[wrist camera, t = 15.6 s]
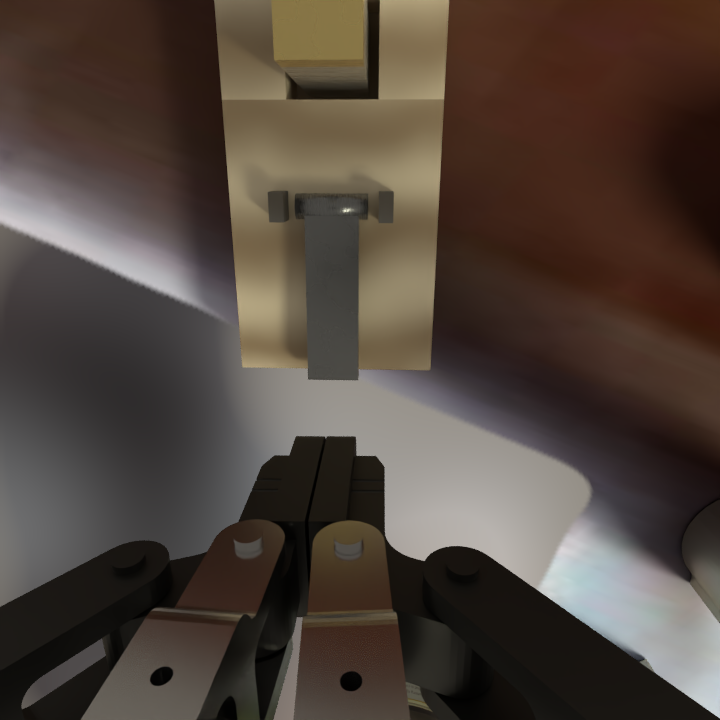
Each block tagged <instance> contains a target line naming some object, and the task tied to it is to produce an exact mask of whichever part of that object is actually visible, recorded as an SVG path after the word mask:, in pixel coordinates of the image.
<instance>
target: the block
mask: <svg viewBox="0 0 720 720" xmlns="http://www.w3.org/2000/svg"><path fill="white" fill-rule="evenodd" d="M214 2H215V16H216V29H217V42H218V55H219V68H220V81H221V94H222V107H223V120H224V133H225V146H226V159H227V173H228V186H229V199H230V212H231V225H232V238H233V251H234V264H235V277H236V290H237V303H238V316H239V330H240V342H241V355H242V367H258V368H259V367H262V368H308V352H307V308H306V264H305V220H304V219H296V216H295V194H296V193H338V194H368V220H359V369H381V370H430V366H431V347H432V327H433V307H434V287H435V268H436V248H437V228H438V208H439V188H440V169H441V149H442V129H443V109H444V90H445V70H446V50H447V30H448V11H449V0H367V3H368V15H369V27H370V52H369V97H310V96H309V95H308V94H307V93H306V92H305V91H304V90H303V89H302V88H301V87H300V86H299V85H298V84H297V83H296V82H295V81H294V80H293V79H292V78H291V77H290V76H289V75H288V74H287V73H286V72H285V71H284V70H283V69H282V68H281V67H280V66H279V64H278V63H277V62H276V61H275V60H274V48H273V26H272V5H271V0H214Z"/></svg>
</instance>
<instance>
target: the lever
mask: <svg viewBox="0 0 720 720" xmlns="http://www.w3.org/2000/svg"><path fill="white" fill-rule="evenodd" d="M295 216H296V219H304V220H305V264H306V308H307V352H308V379H314V380H315V379H316V380H358V376H359V220H368V194H338V193H296V194H295Z"/></svg>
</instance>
